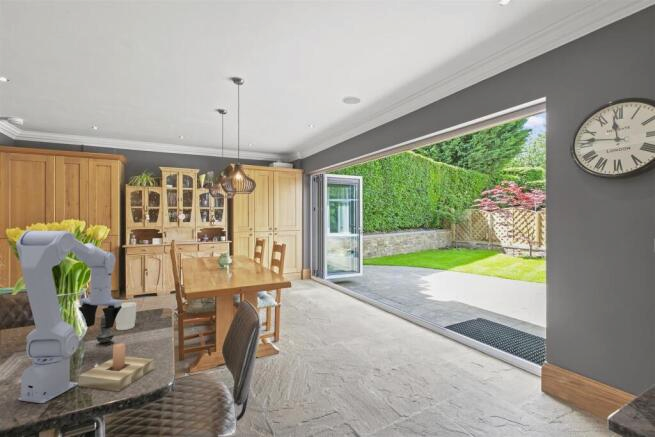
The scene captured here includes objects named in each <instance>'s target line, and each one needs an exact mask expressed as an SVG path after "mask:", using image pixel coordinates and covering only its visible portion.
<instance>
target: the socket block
mask: <svg viewBox="0 0 655 437" xmlns="http://www.w3.org/2000/svg"><path fill="white" fill-rule="evenodd" d="M152 370H154V359H151V358H143V357H133V356H125V368H124V369H122V370H120V371H113V357H112V358H111V359H108V360H107V361H104V362H103V363H101V364H99V365H97V366H95V367H93V368H91V369H89V370H87V371H85V372H83V373H81V374H79V375H78V386H79V387H82V388H91V389H99V390H107V391H116V392H120V391H121V390H123V389H125V388H126V387H128V386H129V385H131V384H132V383H134V382H136V381H137V380H138V379H140V378H142V377H143V376H146V374H148V373H149V372H151V371H152Z"/></svg>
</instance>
